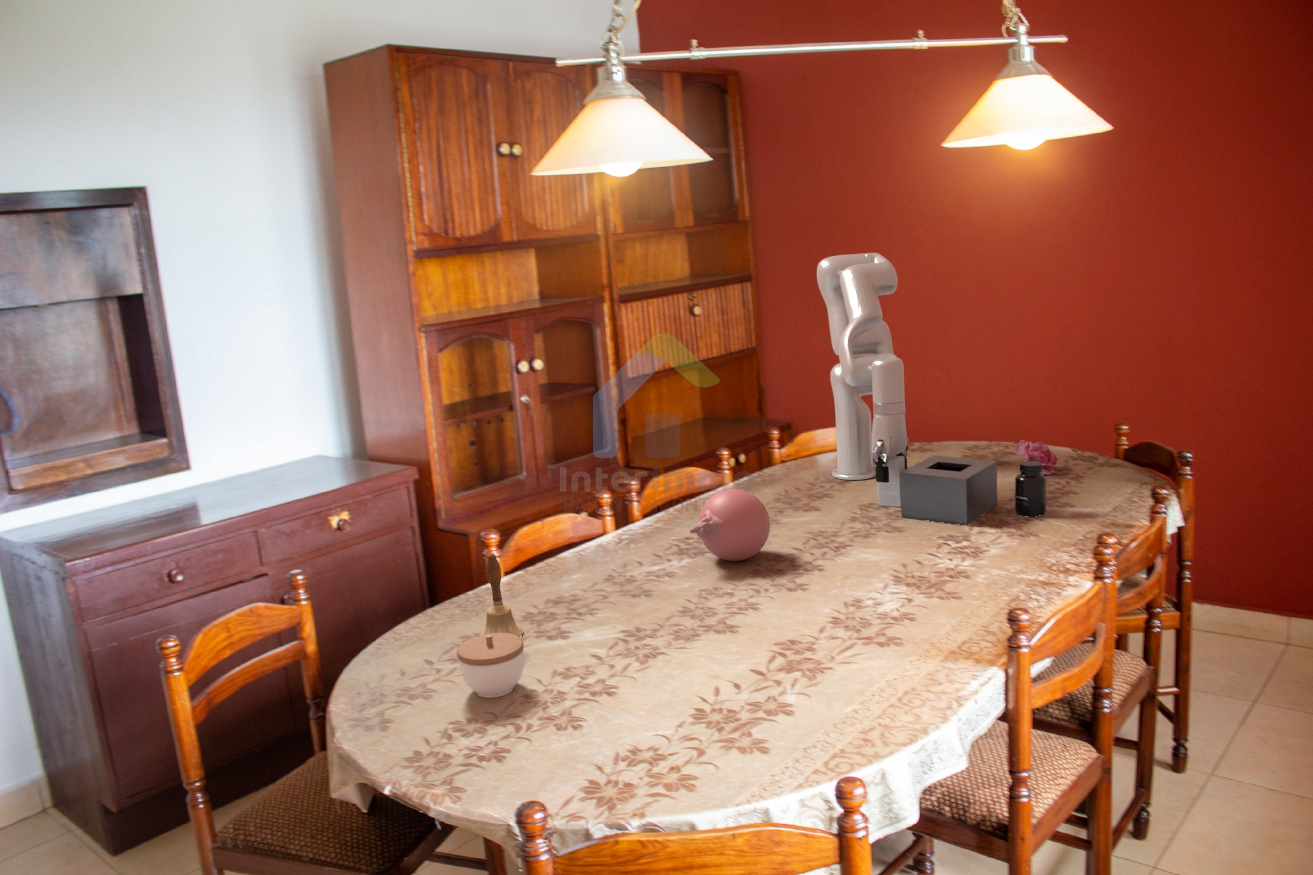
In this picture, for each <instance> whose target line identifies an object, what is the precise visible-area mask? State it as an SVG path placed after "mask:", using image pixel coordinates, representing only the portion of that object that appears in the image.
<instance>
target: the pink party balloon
mask: <svg viewBox="0 0 1313 875" xmlns="http://www.w3.org/2000/svg"><path fill="white" fill-rule="evenodd" d="M770 519H771V518H770V515H769V512H768V510H767V508H766V506H765V505H764V503H763V502H762V501H761V500H760V499H759V498H758V497H757V496H755V495H754V494H753V493H751V492H749V491H746V490H743V489H737V488H735V489H734V488H732V489H731V488H730V489H726V490H722V491H719V492H717V493H715V494H713V495H712V496H711V497H710V498H709V499H707V500H706V502H705V504H703V506H702V508H701V510H700V513H699V517H698V522H697V525H694V526H693V527H691V528H690V529H689V533H690V534H696V535H697V537H698V538H700V539H701V541H702V542H701V543H702V544H703V545H704V546H705V548H706V549H707V550H708V551H709V552H710V553H711V554H712V555H714V556H716V557H717V558H720V559H721V560H725V561H731V562H735V561H736V562H740V561H744V560H747V559H750V558H751V557H753V556H755V555H756V554H757V553H759V552H760V551H761V550H762V549H763V548H764V545H766V542H767V540H768V538H769V535H770V531H771V530H770V529H771V523H770V522H771V520H770Z"/></svg>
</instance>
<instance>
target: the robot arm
mask: <svg viewBox="0 0 1313 875" xmlns="http://www.w3.org/2000/svg"><path fill="white" fill-rule="evenodd" d="M898 280H899V279H898V274H897V271H896V268H895V267H894V265H893V264H892V263H891V262H890V260H889V259H887V258H886V257H885V256H883V255H882V254H881V253H878V252H866V253H864V252H863V253H854V254H853V253H852V254H850V253H849V254H839V255H838V254H837V255H833V256H827V257H825V258H823V259H821V260H820V261H819V262H818V264H817V267H816V281H817V285H818V289H819V291H820V294H821V296H822V299H823V301H824V303H825V306H826V309H827V316H828V324H829V325H828V326H829V334H830V340H831V347H832V349H833V353H834V354H835V355H836V356H838V358H839V362H838V363H837V364H835V365H834V366H833V367H832V369H831V370H830V373H829V374H830V375H829V376H830V379H829V380H830V385H831V389H832V394H833V400H834V413H835V414H834V415H835V435H836V438H835V440H836V455H837V456H836V459H837V467H836V468H834V469H833V470H832V471H831V472H832V474H831V475H832V476H833V477H834V478H836V479H838V480H845V481H847V480H848V481H854V480H855V481H857V480H861V481H862V480H867V479H872V478H874V477H875V481H876V483H877V482H883V483H888V482H889V467H888V466H887V463H888V460H889V457H892V456H904V458H905V470H906V469H908V454H909V453H908V450H909V440H910V439H909V437H908V436H907V427H906V416H905V415H906V400H905V373H904V372H905V371H904V370H905V369H904V368H905V367H904V362H903V360H902V359H901V358H899V357H897V355H896V354H894V348H893V347H894V346H893V340H892V333H891V330H890V328H889V325H888V324H887V322H885V321H884V320H883V316H884V315H883V311H882V306H881V303H880V299H879V296H886V295H893V294H894V293H895V292H896V290H897V288H898V282H899V281H898ZM867 395H868V396H869V395H872V408H873V409H872V411H873V419H872V413H871V410H870V407H869V406H868V404H866V402H865V401H864V400H862V398H861V397H862V396H867ZM882 458H884V461H883V460H882ZM873 464H874V466H873Z"/></svg>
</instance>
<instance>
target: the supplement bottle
mask: <svg viewBox="0 0 1313 875" xmlns="http://www.w3.org/2000/svg"><path fill="white" fill-rule="evenodd" d="M1019 468H1020V469H1019V472H1020V473H1018V474H1017V475H1016V476H1015V478H1014V512H1015V514H1016V513H1017V514H1016V515H1017V516H1020V515H1022V516H1021V517H1024V516H1028V517H1027V518H1036V517H1035V516H1039V515H1043V516H1044V515H1045V514H1046V511H1047V477H1046V476H1045V474H1042V473H1041V472H1042V463H1040V462H1036V461H1025V460H1024V461H1022V462H1020V463H1019Z"/></svg>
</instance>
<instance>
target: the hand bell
mask: <svg viewBox="0 0 1313 875" xmlns="http://www.w3.org/2000/svg"><path fill="white" fill-rule="evenodd" d="M486 577H487V579H488V583H489V584H490V587H491V594H492V603H493V604H492V606H490V607H489V608H487V610H486V620H485V621H486V622H485V626H484V628H483V630H482V631H481V632H480V633H479V636H480V635H485V634H491V633H509V634H514V635H517V636H519V637H520V636H521V635H523V633H524V634H525V631H524V629H523V628H522V627H521V626H519V625H518V624H517V622H516V621H515V619H514V616H513V612H512V608H511V606H510V605H507V604H504V602H503V597H502V591H501V581H502V568H501V565H500V563H499V561H498V558H497V556H496V554H495V553H491V554H490V553H489V554H488V557H487V562H486ZM523 631H524V632H523ZM523 636H524V635H523Z"/></svg>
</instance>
